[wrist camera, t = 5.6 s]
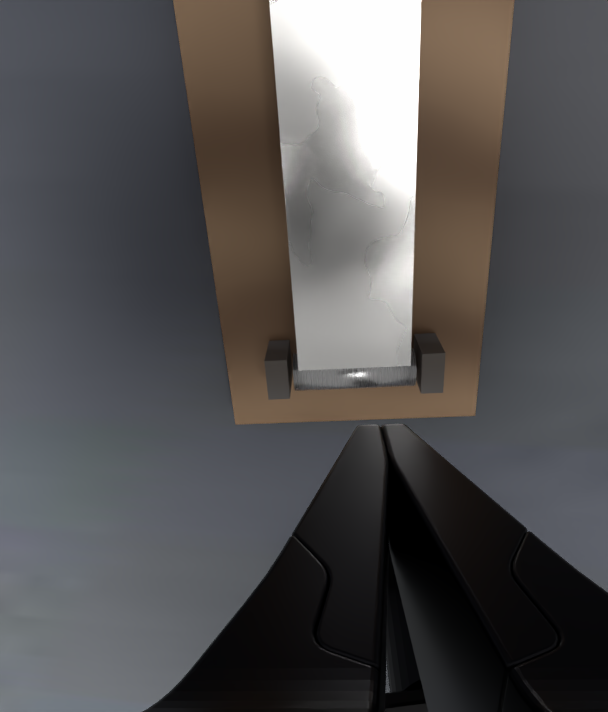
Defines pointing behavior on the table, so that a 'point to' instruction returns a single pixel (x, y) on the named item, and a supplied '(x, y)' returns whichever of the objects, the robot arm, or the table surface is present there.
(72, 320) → the table surface
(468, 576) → the robot arm
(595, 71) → the table surface
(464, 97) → the walnut board
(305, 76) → the bar
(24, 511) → the table surface
